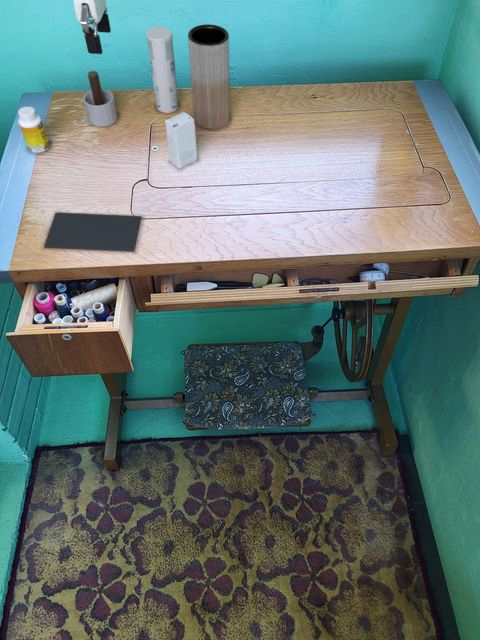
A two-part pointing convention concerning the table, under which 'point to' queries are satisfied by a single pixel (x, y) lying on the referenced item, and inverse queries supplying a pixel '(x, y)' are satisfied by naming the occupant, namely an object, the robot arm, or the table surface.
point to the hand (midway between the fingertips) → (100, 42)
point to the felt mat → (93, 232)
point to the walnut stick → (96, 88)
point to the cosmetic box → (181, 139)
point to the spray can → (163, 68)
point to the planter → (210, 75)
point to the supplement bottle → (33, 130)
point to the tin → (101, 109)
